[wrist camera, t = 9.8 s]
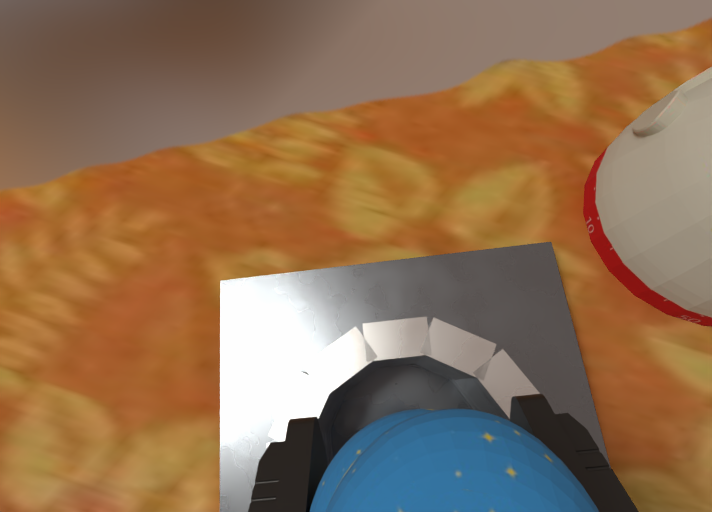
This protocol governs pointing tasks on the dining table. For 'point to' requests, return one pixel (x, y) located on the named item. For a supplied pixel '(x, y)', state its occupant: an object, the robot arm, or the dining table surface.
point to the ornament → (447, 468)
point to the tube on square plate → (391, 349)
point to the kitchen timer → (659, 203)
